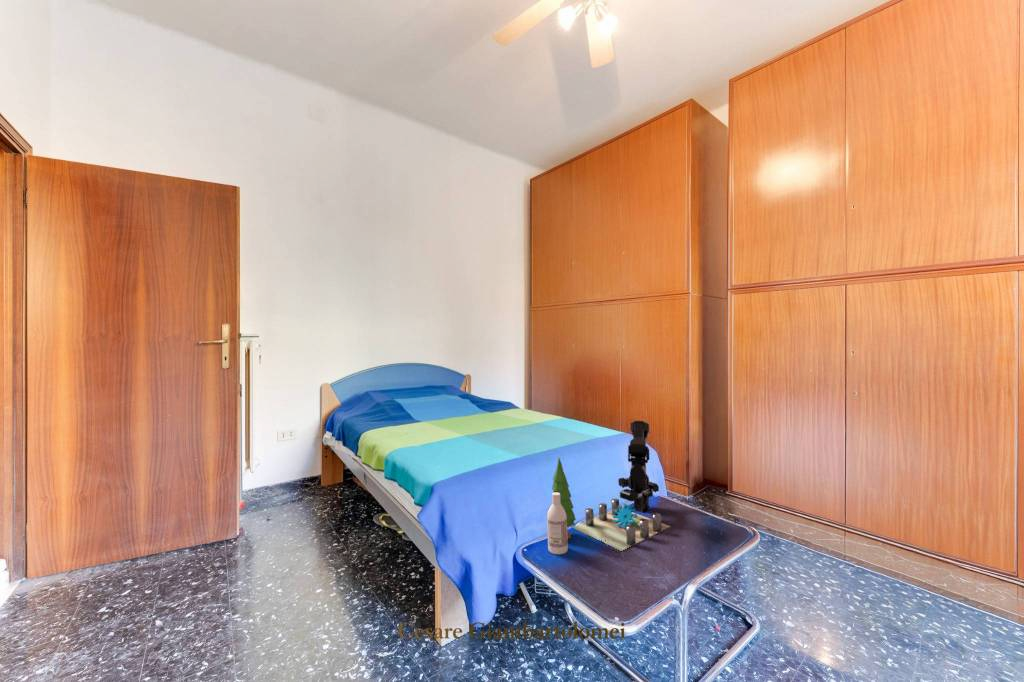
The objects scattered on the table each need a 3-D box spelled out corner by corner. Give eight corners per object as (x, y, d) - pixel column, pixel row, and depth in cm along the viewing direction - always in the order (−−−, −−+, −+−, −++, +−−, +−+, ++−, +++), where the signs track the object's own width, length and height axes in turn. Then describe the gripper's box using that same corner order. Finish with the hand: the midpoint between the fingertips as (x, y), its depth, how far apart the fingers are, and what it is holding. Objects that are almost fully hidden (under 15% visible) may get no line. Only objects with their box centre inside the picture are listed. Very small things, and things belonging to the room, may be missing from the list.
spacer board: (620, 508, 175) (620, 507, 175) (669, 527, 155) (669, 526, 155) (572, 528, 157) (572, 527, 157) (621, 552, 138) (621, 550, 138)
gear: (607, 519, 159) (620, 498, 162) (613, 526, 162) (626, 506, 165) (629, 533, 150) (642, 511, 153) (635, 540, 153) (648, 518, 156)
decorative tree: (557, 528, 157) (555, 453, 158) (580, 533, 153) (577, 455, 153) (548, 539, 148) (545, 459, 149) (572, 544, 144) (569, 462, 145)
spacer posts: (615, 512, 170) (614, 498, 171) (663, 530, 152) (662, 515, 152) (584, 524, 159) (583, 509, 159) (632, 546, 140) (631, 529, 141)
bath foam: (569, 554, 137) (567, 496, 138) (549, 555, 137) (547, 497, 137) (565, 544, 144) (563, 489, 144) (546, 545, 144) (545, 490, 144)
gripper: (636, 464, 175) (637, 500, 174) (608, 473, 164) (610, 511, 163) (658, 470, 166) (660, 508, 165) (630, 480, 155) (632, 520, 154)
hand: (640, 511), depth 162 cm, fingers closed
